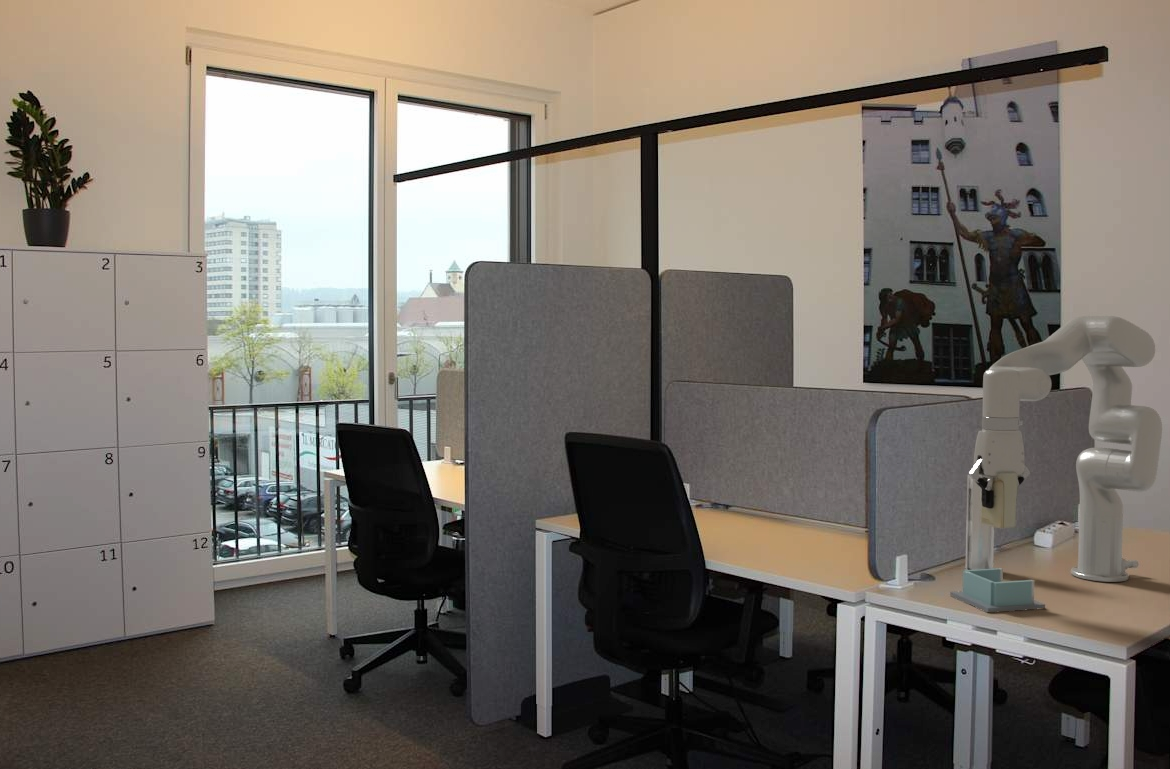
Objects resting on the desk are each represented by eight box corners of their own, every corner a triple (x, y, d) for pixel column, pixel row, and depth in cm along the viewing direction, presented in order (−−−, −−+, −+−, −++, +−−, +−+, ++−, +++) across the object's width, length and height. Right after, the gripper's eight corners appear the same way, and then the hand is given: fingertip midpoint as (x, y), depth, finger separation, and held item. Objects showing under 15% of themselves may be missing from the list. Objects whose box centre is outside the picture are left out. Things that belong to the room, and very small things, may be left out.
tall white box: (995, 574, 247) (997, 473, 246) (967, 572, 249) (969, 473, 247) (990, 567, 254) (992, 470, 252) (963, 566, 255) (965, 469, 254)
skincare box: (980, 524, 223) (981, 470, 222) (995, 522, 225) (996, 468, 224) (1002, 529, 217) (1003, 473, 216) (1017, 527, 219) (1018, 472, 218)
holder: (1004, 592, 230) (1005, 566, 230) (1045, 608, 217) (1045, 581, 216) (950, 595, 227) (950, 569, 227) (987, 612, 214) (988, 585, 213)
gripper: (1023, 422, 225) (1021, 502, 226) (956, 424, 221) (954, 505, 223) (1045, 425, 218) (1043, 508, 219) (976, 427, 214) (974, 511, 215)
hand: (998, 506), depth 221 cm, fingers closed on skincare box, 4 cm apart
